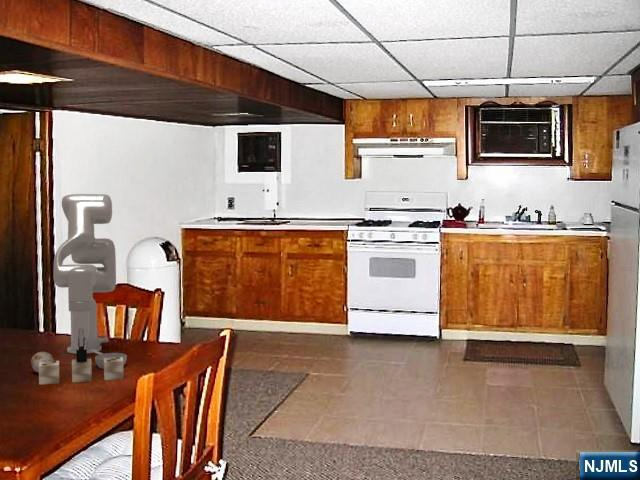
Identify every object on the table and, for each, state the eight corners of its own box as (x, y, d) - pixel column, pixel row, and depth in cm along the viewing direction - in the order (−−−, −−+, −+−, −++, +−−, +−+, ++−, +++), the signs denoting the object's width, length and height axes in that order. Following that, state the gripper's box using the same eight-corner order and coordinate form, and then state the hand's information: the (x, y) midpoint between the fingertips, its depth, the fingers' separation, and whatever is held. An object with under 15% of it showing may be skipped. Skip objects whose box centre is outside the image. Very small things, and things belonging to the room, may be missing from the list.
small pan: (105, 371, 260) (105, 360, 260) (78, 362, 272) (78, 352, 272) (133, 366, 268) (133, 355, 267) (105, 357, 280) (105, 347, 280)
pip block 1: (59, 378, 251) (59, 360, 250) (59, 383, 245) (58, 364, 244) (40, 379, 249) (39, 361, 248) (39, 384, 243) (38, 365, 243)
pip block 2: (122, 374, 256) (122, 356, 256) (123, 379, 251) (123, 360, 250) (104, 375, 255) (103, 357, 254) (104, 380, 249) (104, 361, 248)
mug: (36, 380, 249) (27, 352, 251) (37, 386, 258) (29, 358, 260) (59, 372, 252) (50, 344, 254) (60, 378, 260) (51, 351, 263)
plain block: (91, 376, 254) (91, 358, 253) (91, 381, 248) (91, 363, 247) (72, 377, 252) (72, 359, 251) (72, 382, 246) (71, 364, 246)
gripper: (68, 302, 254) (69, 357, 255) (68, 310, 239) (69, 367, 241) (92, 301, 256) (93, 355, 257) (93, 309, 242) (94, 366, 243)
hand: (81, 361), depth 249 cm, fingers closed
